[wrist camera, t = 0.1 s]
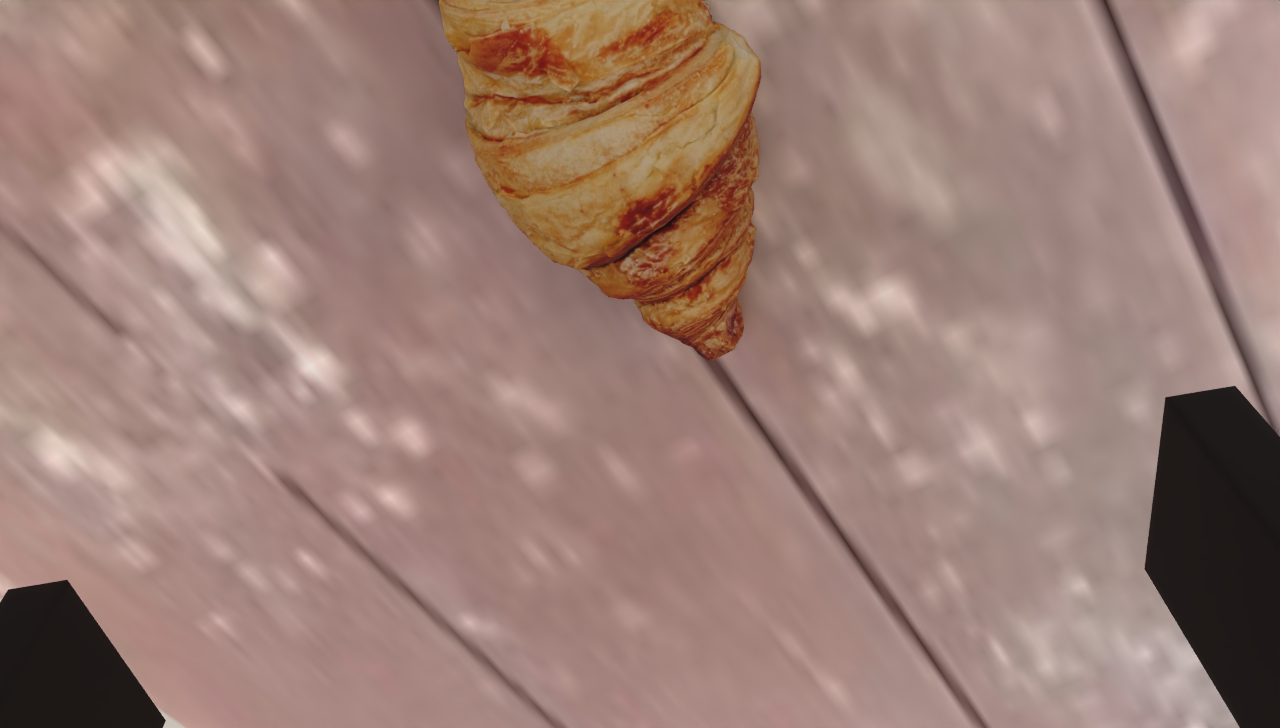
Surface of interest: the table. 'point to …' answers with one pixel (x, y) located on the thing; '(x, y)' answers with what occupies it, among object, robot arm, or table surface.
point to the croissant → (621, 147)
